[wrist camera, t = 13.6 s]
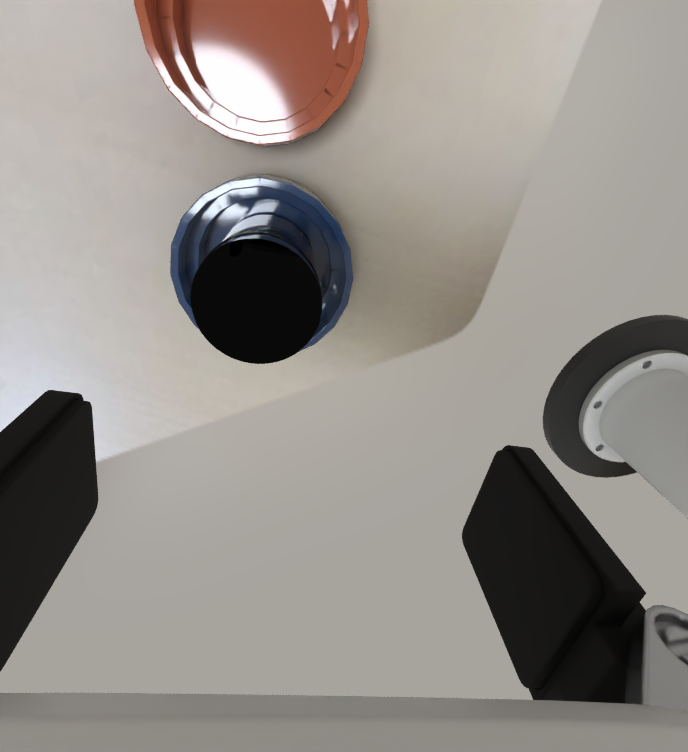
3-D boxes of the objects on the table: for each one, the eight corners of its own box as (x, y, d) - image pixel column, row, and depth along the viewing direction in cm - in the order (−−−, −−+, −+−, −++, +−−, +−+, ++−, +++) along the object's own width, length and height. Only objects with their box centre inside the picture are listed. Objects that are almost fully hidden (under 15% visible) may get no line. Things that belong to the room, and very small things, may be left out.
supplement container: (201, 242, 30) (160, 281, 21) (283, 193, 29) (278, 210, 20) (255, 320, 33) (240, 384, 24) (330, 278, 32) (345, 327, 23)
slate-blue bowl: (359, 194, 30) (370, 200, 26) (329, 341, 35) (334, 367, 31) (192, 157, 28) (173, 158, 24) (185, 319, 33) (168, 344, 29)
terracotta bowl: (374, -56, 24) (392, -104, 20) (335, 163, 29) (343, 164, 25) (164, -127, 22) (131, -196, 18) (160, 122, 27) (134, 116, 23)
